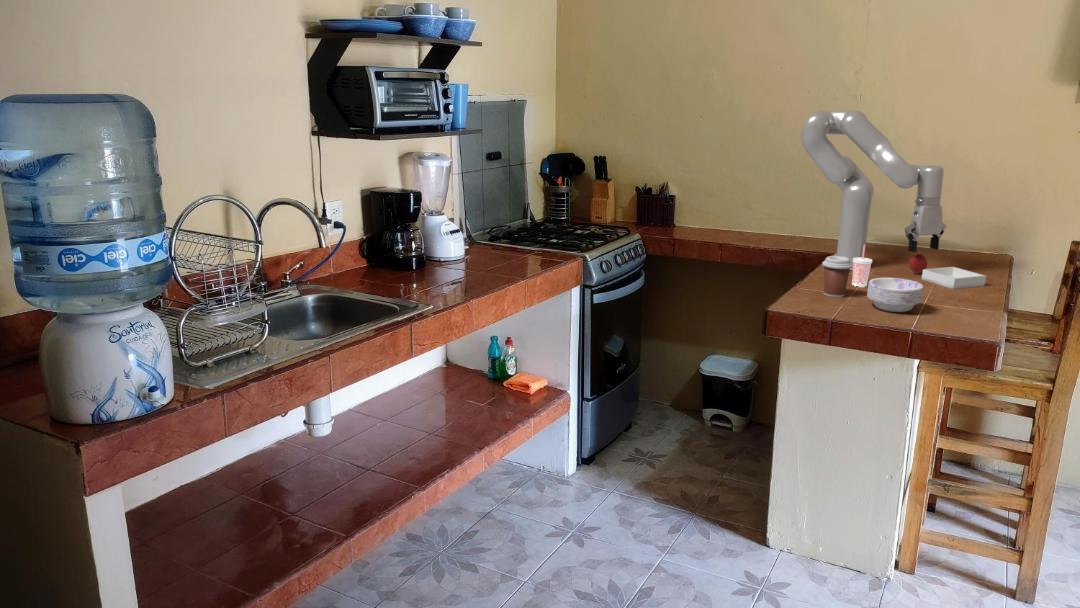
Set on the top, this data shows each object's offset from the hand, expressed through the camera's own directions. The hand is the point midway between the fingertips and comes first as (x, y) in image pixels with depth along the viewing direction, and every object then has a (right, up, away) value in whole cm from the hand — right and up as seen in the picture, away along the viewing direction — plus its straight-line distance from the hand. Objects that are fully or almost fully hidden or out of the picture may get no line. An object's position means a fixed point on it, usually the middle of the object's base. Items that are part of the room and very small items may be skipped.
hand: (923, 250), depth 273 cm
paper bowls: (-28, -20, -39) cm, 52 cm away
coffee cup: (-41, -16, -24) cm, 50 cm away
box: (+6, -12, -9) cm, 16 cm away
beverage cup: (-28, -13, -13) cm, 34 cm away
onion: (-1, -8, +3) cm, 9 cm away
